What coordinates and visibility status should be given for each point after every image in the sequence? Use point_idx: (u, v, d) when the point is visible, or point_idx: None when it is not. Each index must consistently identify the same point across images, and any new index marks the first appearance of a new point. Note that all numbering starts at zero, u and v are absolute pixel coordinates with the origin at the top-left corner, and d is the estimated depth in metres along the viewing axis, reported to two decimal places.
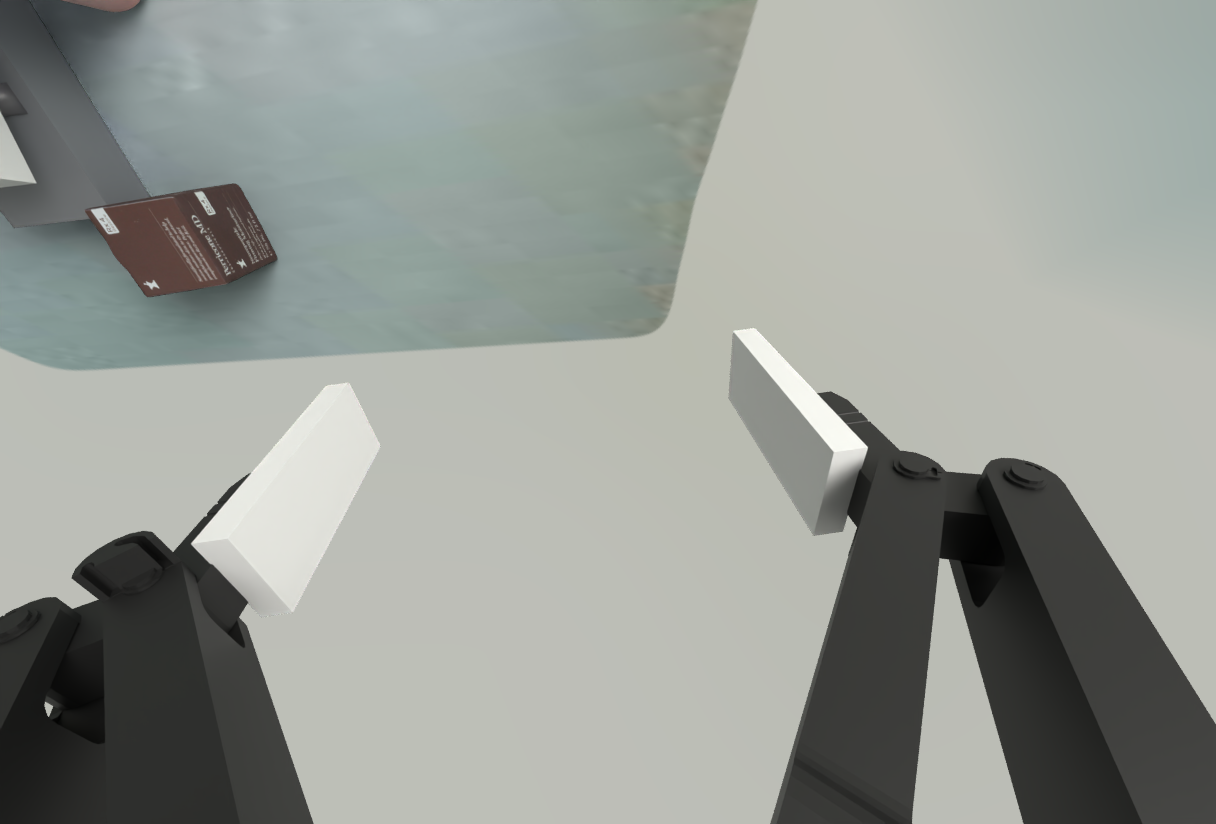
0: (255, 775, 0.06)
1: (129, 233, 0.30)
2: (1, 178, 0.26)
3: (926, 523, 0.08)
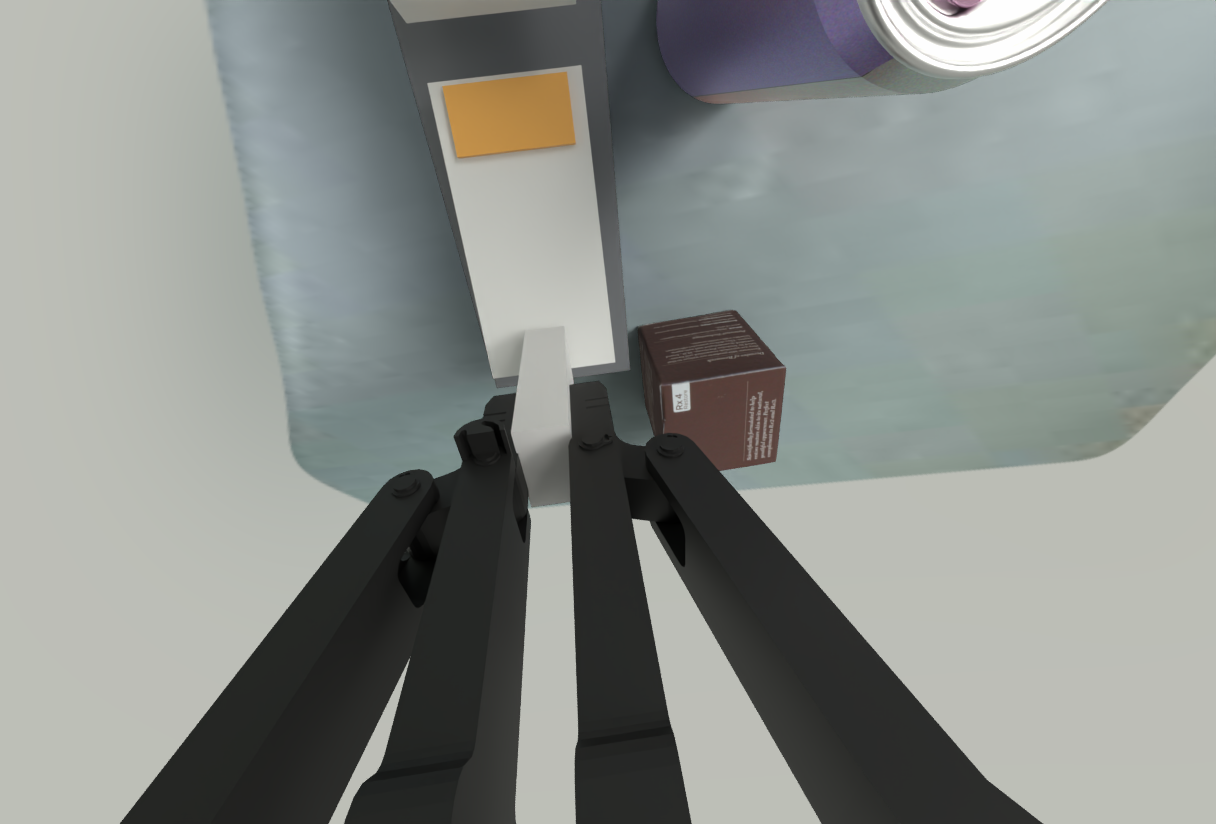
0: (498, 678, 0.07)
1: (701, 410, 0.21)
2: (613, 361, 0.18)
3: (613, 480, 0.10)
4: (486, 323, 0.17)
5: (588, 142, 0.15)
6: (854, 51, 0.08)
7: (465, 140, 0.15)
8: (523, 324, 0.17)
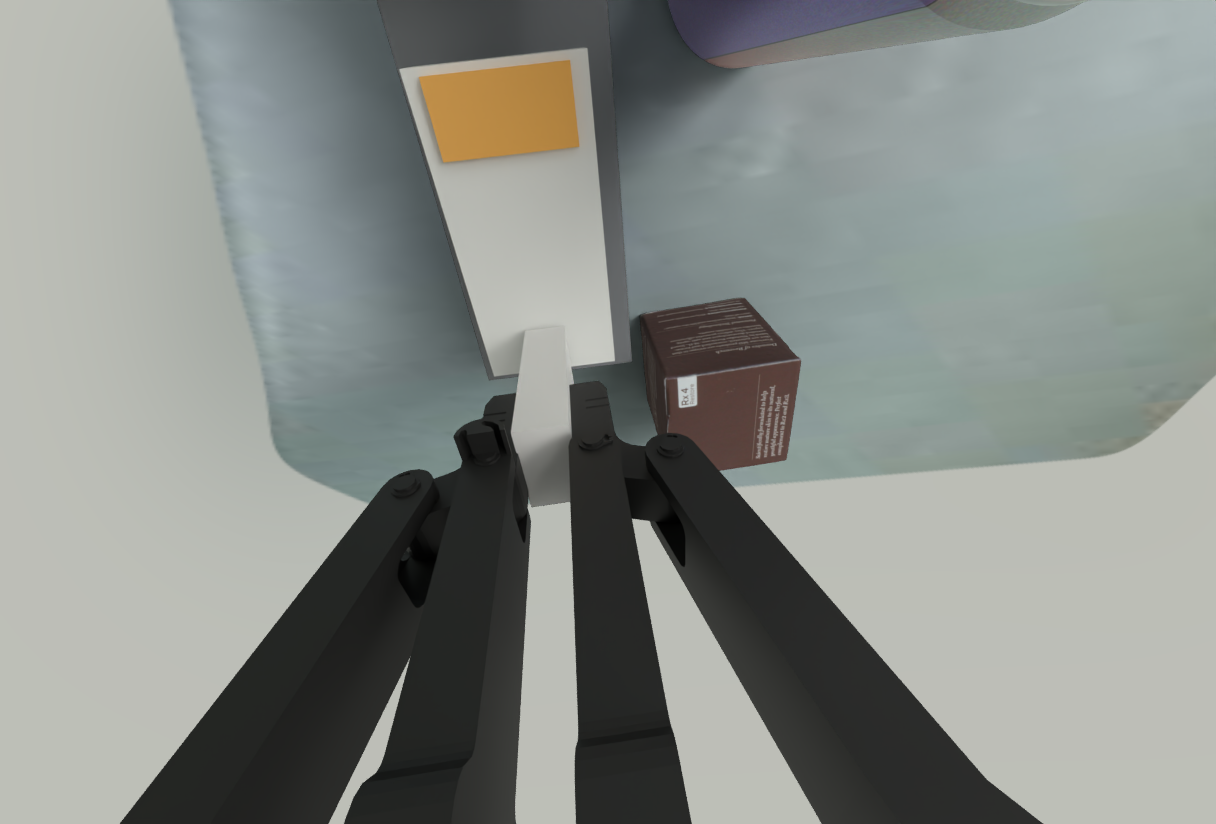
0: (498, 678, 0.07)
1: (709, 406, 0.20)
2: (612, 359, 0.18)
3: (613, 480, 0.10)
4: (485, 328, 0.17)
5: (593, 143, 0.13)
6: None
7: (451, 143, 0.13)
8: (523, 328, 0.17)
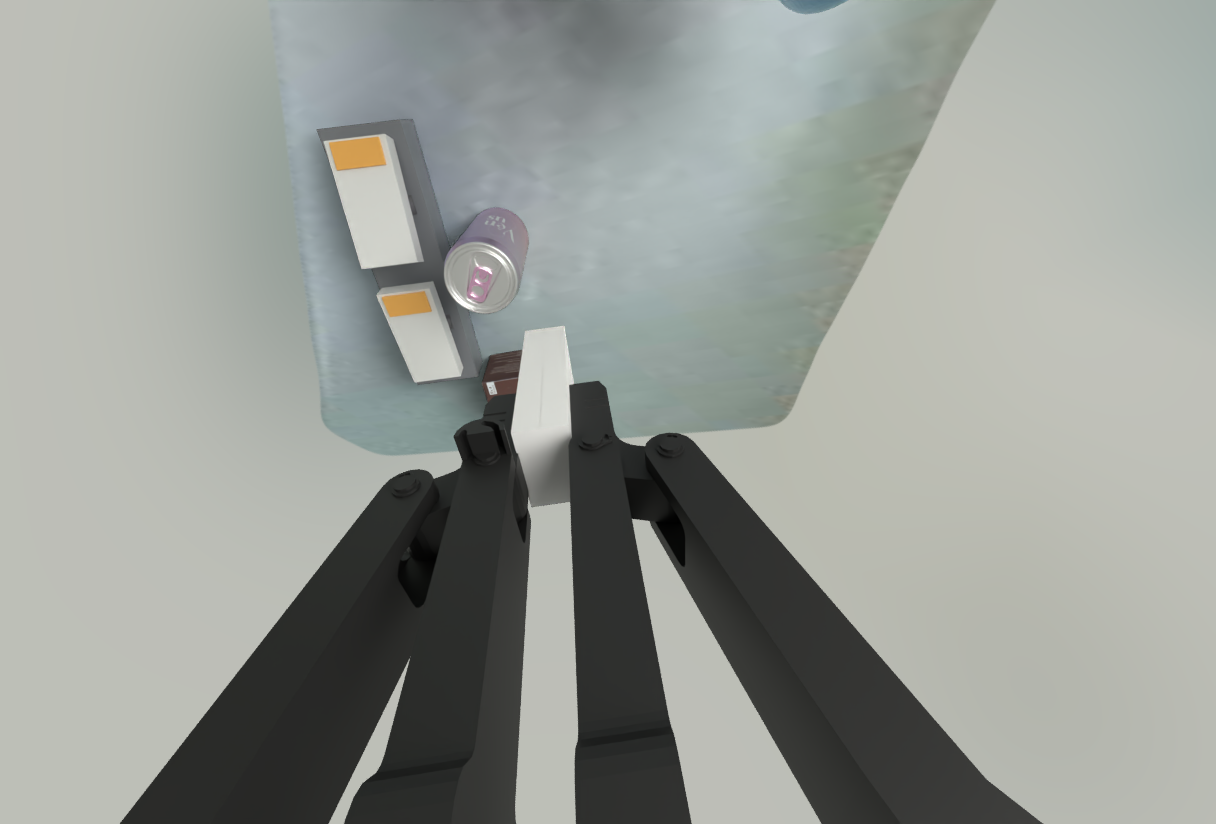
0: (498, 678, 0.07)
1: (502, 394, 0.49)
2: (460, 375, 0.48)
3: (613, 480, 0.10)
4: (409, 364, 0.46)
5: (436, 310, 0.43)
6: None
7: (391, 312, 0.42)
8: (423, 365, 0.47)
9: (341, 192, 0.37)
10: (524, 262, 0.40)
